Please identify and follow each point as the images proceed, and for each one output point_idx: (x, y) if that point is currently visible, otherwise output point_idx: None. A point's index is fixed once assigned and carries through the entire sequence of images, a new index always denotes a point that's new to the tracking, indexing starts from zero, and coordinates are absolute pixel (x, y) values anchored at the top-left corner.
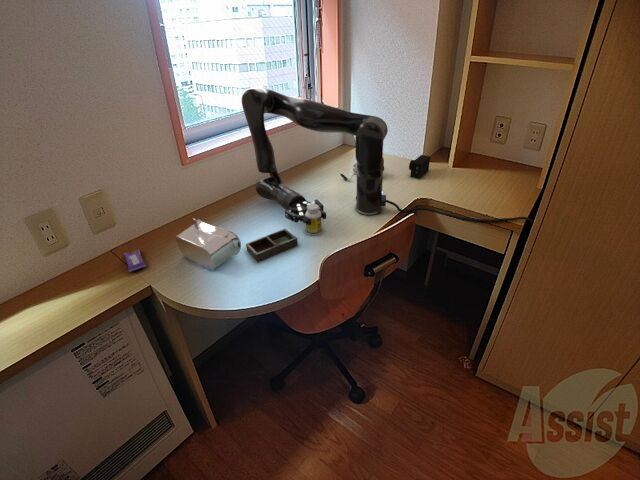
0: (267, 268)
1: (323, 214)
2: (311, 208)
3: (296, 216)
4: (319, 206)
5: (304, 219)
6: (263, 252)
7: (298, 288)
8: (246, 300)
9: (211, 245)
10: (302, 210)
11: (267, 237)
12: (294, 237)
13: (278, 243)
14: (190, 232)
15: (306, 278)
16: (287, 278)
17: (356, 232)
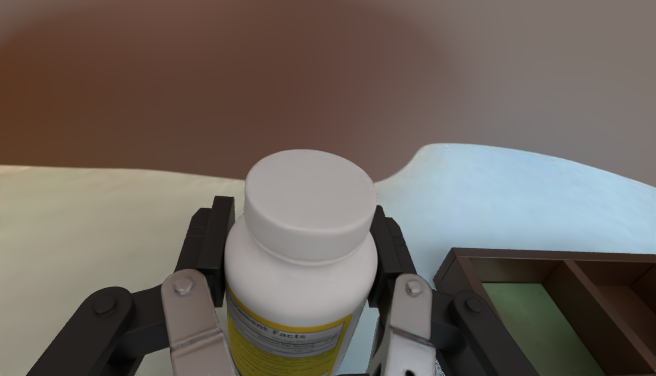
0: (569, 235)
1: (232, 207)
2: (345, 169)
3: (466, 291)
4: (118, 342)
5: (402, 238)
6: (624, 255)
7: (468, 145)
8: (601, 178)
9: None
10: (367, 373)
11: (653, 359)
12: (465, 259)
13: (546, 338)
14: None
15: (441, 153)
16: (495, 176)
17: (117, 202)
